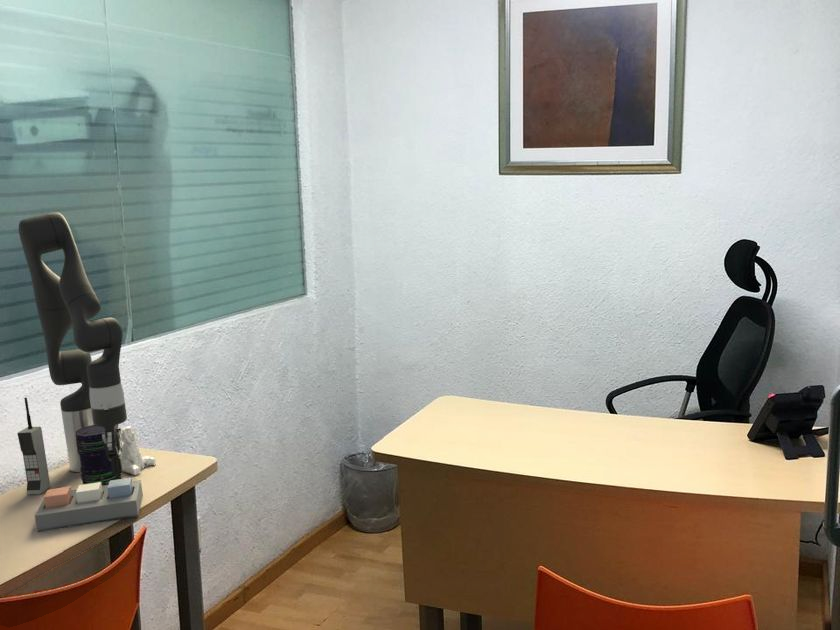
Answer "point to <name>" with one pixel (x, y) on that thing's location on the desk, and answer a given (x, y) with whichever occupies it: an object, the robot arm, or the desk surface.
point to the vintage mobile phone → (34, 457)
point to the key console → (89, 510)
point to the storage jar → (93, 456)
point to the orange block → (58, 497)
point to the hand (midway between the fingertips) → (117, 473)
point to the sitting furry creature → (132, 453)
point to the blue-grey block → (120, 488)
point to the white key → (89, 492)
